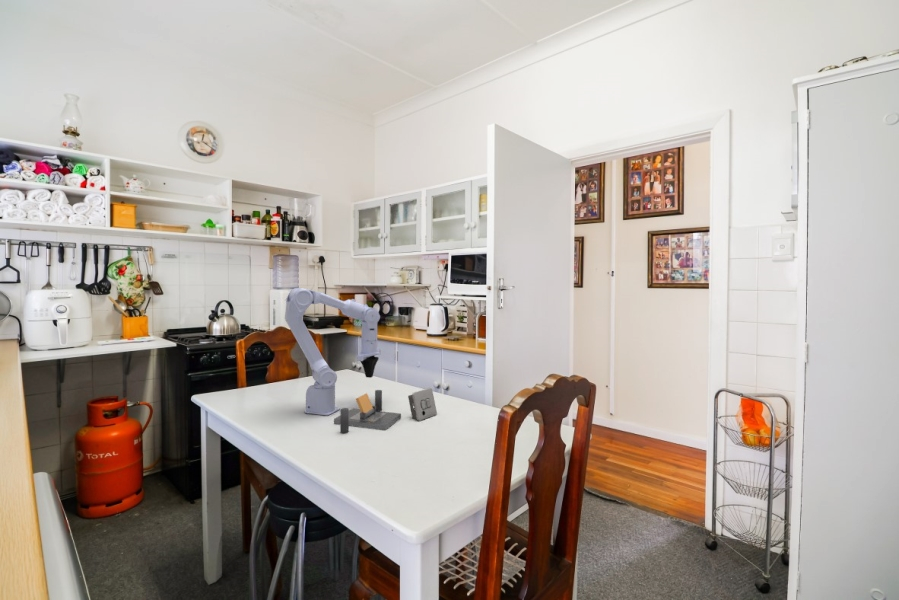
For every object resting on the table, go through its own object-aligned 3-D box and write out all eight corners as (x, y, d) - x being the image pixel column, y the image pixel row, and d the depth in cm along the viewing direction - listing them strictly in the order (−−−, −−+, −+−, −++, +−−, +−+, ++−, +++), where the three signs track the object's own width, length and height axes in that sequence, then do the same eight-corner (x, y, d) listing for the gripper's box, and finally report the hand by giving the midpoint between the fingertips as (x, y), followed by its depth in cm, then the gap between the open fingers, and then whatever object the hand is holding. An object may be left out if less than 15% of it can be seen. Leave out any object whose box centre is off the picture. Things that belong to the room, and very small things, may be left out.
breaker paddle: (362, 419, 139) (354, 399, 139) (371, 413, 145) (363, 394, 145) (366, 417, 138) (358, 397, 139) (375, 411, 144) (367, 392, 145)
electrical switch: (418, 421, 142) (417, 393, 142) (407, 420, 145) (406, 392, 145) (437, 415, 149) (435, 388, 149) (426, 413, 152) (424, 387, 152)
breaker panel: (334, 423, 138) (334, 412, 138) (352, 412, 150) (352, 401, 150) (385, 430, 133) (385, 418, 133) (400, 418, 145) (401, 407, 145)
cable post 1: (338, 432, 130) (338, 410, 130) (343, 430, 133) (343, 407, 132) (345, 433, 130) (345, 410, 129) (350, 431, 132) (350, 408, 132)
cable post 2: (373, 410, 152) (373, 391, 152) (376, 409, 155) (376, 389, 154) (380, 411, 152) (380, 391, 151) (382, 409, 154) (383, 390, 154)
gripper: (370, 343, 150) (369, 382, 151) (387, 338, 164) (387, 373, 164) (351, 342, 152) (351, 380, 153) (371, 337, 166) (370, 372, 166)
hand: (369, 377), depth 159 cm, fingers closed
